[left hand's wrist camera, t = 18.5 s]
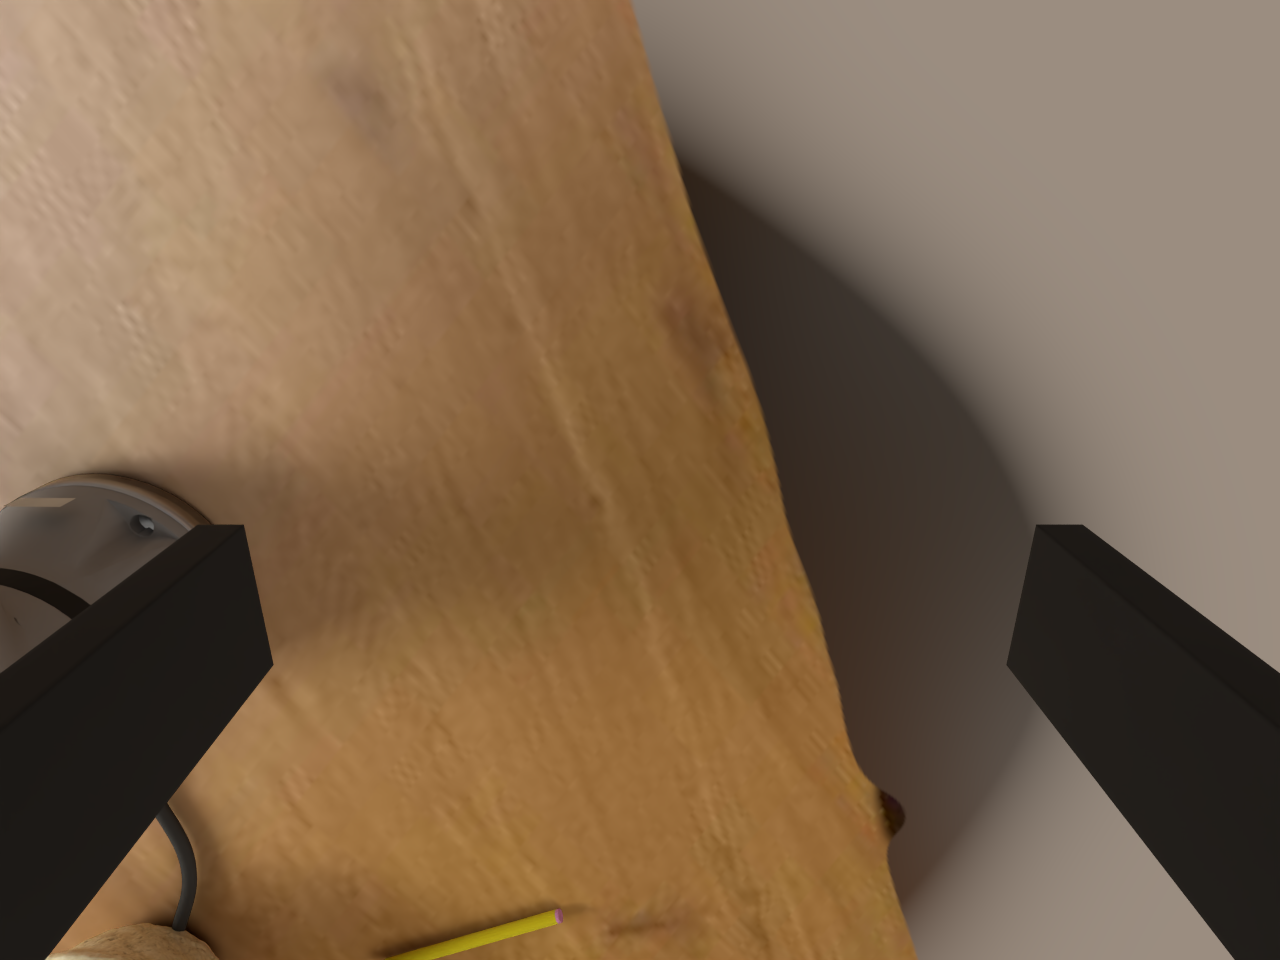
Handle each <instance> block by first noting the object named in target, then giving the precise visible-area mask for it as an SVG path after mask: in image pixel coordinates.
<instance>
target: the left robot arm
mask: <svg viewBox="0 0 1280 960" xmlns="http://www.w3.org/2000/svg"><path fill="white" fill-rule="evenodd" d="M5 506H6V507H5V508H3V509H2V510H1V511H0V960H45V959H46V958H47V957H48V956H49V954H50V953H51V952H52V950H53V949H54V948H55V946H56V945H57V944H58V943H59V941H60V940H61V939H62V937H63V936H64V935H65V934H66V932H67V931H68V930H69V928H70V927H71V926H72V925H73V923H74V922H75V921H76V919H77V918H78V917H79V915H80V914H81V913H82V912H83V910H84V909H85V908H86V906H87V905H88V904H89V903H90V901H91V900H92V899H93V897H94V896H95V895H96V894H97V892H98V891H99V890H100V888H101V887H102V886H103V884H104V883H105V882H106V881H107V879H108V878H109V877H110V875H111V874H112V873H113V872H114V870H115V869H116V868H117V866H118V865H119V864H120V863H121V861H122V860H123V859H124V857H125V856H126V855H127V853H128V852H129V851H130V850H131V848H132V847H133V846H134V844H135V843H136V842H137V841H138V839H139V838H140V837H141V835H142V834H143V833H144V831H145V830H146V829H147V828H148V826H149V825H150V824H151V822H152V821H153V820H154V819H155V817H156V819H157V820H158V822H159V823H160V825H161V826H162V828H163V830H164V831H165V833H166V834H167V836H168V838H169V839H170V841H171V843H172V845H173V847H174V849H175V851H176V854H177V856H178V859H179V863H180V867H181V873H182V891H181V896H180V901H179V904H178V908H177V911H176V914H175V917H174V921H173V924H172V929H173V930H175V931H179V932H180V931H185V930H186V926H187V922H188V919H189V916H190V913H191V909H192V906H193V903H194V899H195V894H196V887H197V870H196V861H195V857H194V853H193V850H192V847H191V844H190V842H189V839H188V837H187V835H186V833H185V831H184V829H183V828H182V826H181V824H180V823H179V821H178V819H177V818H176V816H175V815H174V813H173V812H172V810H171V808H170V807H169V805H168V804H167V802H168V800H169V799H170V798H171V797H172V795H173V794H174V793H175V791H176V790H177V789H178V788H179V786H180V785H181V784H182V782H183V781H184V780H185V779H186V777H187V776H188V775H189V773H190V772H191V771H192V769H193V768H194V767H195V766H196V764H197V763H198V762H199V760H200V759H201V758H202V757H203V755H204V754H205V753H206V751H207V750H208V749H209V748H210V746H211V745H212V744H213V742H214V741H215V740H216V738H217V737H218V736H219V735H220V733H221V732H222V731H223V729H224V728H225V727H226V726H227V724H228V723H229V722H230V720H231V719H232V718H233V716H234V715H235V714H236V713H237V711H238V710H239V709H240V707H241V706H242V705H243V704H244V702H245V701H246V700H247V698H248V697H249V696H250V695H251V693H252V692H253V691H254V689H255V688H256V687H257V685H258V684H259V683H260V682H261V680H262V679H263V678H264V676H265V675H266V674H267V673H268V671H269V670H270V669H271V667H272V666H273V660H272V656H271V651H270V646H269V642H268V637H267V632H266V627H265V623H264V618H263V613H262V609H261V604H260V599H259V594H258V590H257V585H256V580H255V576H254V571H253V566H252V561H251V557H250V552H249V547H248V543H247V538H246V533H245V528H244V525H211V524H210V523H209V522H208V521H207V520H206V519H205V518H204V517H203V516H202V515H201V514H199V513H198V512H197V511H196V510H194V509H193V508H192V507H190V506H189V505H188V504H186V503H185V502H183V501H182V500H180V499H178V498H177V497H175V496H173V495H172V494H170V493H168V492H166V491H164V490H162V489H160V488H157V487H155V486H152V485H150V484H147V483H144V482H141V481H138V480H135V479H131V478H127V477H122V476H116V475H108V474H82V475H73V476H69V477H64V478H61V479H58V480H55V481H52V482H49V483H47V484H45V485H43V486H41V487H39V488H37V489H35V490H33V491H31V492H29V493H27V494H25V495H23V496H21V497H19V498H17V499H16V500H14V501H12V502H11V503H9V504H7V505H5ZM1007 666H1008V667H1009V669H1010V670H1011V671H1012V673H1013V674H1014V675H1015V676H1016V678H1017V679H1018V680H1019V682H1020V683H1021V684H1022V685H1023V687H1024V688H1025V689H1026V691H1027V692H1028V693H1029V695H1030V696H1031V697H1032V698H1033V700H1034V701H1035V702H1036V704H1037V705H1038V706H1039V707H1040V709H1041V710H1042V711H1043V713H1044V714H1045V715H1046V716H1047V718H1048V719H1049V720H1050V722H1051V723H1052V724H1053V726H1054V727H1055V728H1056V729H1057V731H1058V732H1059V733H1060V734H1061V736H1062V737H1063V738H1064V740H1065V741H1066V742H1067V744H1068V745H1069V746H1070V748H1071V749H1072V750H1073V751H1074V753H1075V754H1076V755H1077V757H1078V758H1079V759H1080V760H1081V762H1082V763H1083V764H1084V765H1085V767H1086V768H1087V769H1088V771H1089V772H1090V773H1091V775H1092V776H1093V777H1094V778H1095V780H1096V781H1097V782H1098V784H1099V785H1100V786H1101V787H1102V789H1103V790H1104V791H1105V793H1106V794H1107V795H1108V797H1109V798H1110V799H1111V800H1112V802H1113V803H1114V804H1115V806H1116V807H1117V808H1118V809H1119V811H1120V812H1121V813H1122V815H1123V816H1124V817H1125V819H1126V820H1127V821H1128V822H1129V824H1130V825H1131V826H1132V828H1133V829H1134V830H1135V831H1136V833H1137V834H1138V835H1139V837H1140V838H1141V839H1142V840H1143V842H1144V843H1145V844H1146V846H1147V847H1148V848H1149V850H1150V851H1151V852H1152V853H1153V855H1154V856H1155V857H1156V859H1157V860H1158V861H1159V863H1160V864H1161V865H1162V866H1163V868H1164V869H1165V870H1166V871H1167V873H1168V874H1169V875H1170V877H1171V878H1172V879H1173V881H1174V882H1175V883H1176V884H1177V886H1178V887H1179V888H1180V890H1181V891H1182V892H1183V894H1184V895H1185V896H1186V897H1187V899H1188V900H1189V901H1190V903H1191V904H1192V905H1193V906H1194V908H1195V909H1196V910H1197V912H1198V913H1199V914H1200V915H1201V917H1202V918H1203V919H1204V921H1205V922H1206V923H1207V925H1208V926H1209V927H1210V928H1211V930H1212V931H1213V932H1214V934H1215V935H1216V936H1217V937H1218V939H1219V940H1220V941H1221V943H1222V944H1223V945H1224V946H1225V948H1226V949H1227V950H1228V952H1229V953H1230V954H1231V955H1232V957H1233V958H1234V959H1235V960H1280V673H1279V672H1277V671H1276V670H1275V669H1273V668H1272V667H1271V666H1269V665H1268V664H1267V663H1265V662H1264V661H1263V660H1261V659H1260V658H1259V657H1257V656H1256V655H1255V654H1253V653H1252V652H1251V651H1249V650H1248V649H1247V648H1246V647H1244V646H1243V645H1241V644H1240V643H1239V642H1238V641H1236V640H1235V639H1234V638H1232V637H1231V636H1230V635H1228V634H1227V633H1226V632H1224V631H1223V630H1222V629H1220V628H1219V627H1218V626H1216V625H1215V624H1214V623H1212V622H1211V621H1210V620H1208V619H1207V618H1206V617H1204V616H1203V615H1202V614H1200V613H1199V612H1198V611H1196V610H1195V609H1194V608H1192V607H1191V606H1190V605H1188V604H1187V603H1186V602H1184V601H1183V600H1182V599H1180V598H1179V597H1178V596H1177V595H1175V594H1174V593H1173V592H1171V591H1170V590H1169V589H1167V588H1166V587H1165V586H1163V585H1162V584H1161V583H1159V582H1158V581H1157V580H1155V579H1154V578H1153V577H1151V576H1150V575H1148V574H1147V573H1146V572H1145V571H1143V570H1142V569H1141V568H1139V567H1138V566H1137V565H1135V564H1134V563H1133V562H1131V561H1130V560H1129V559H1127V558H1126V557H1125V556H1123V555H1122V554H1121V553H1119V552H1118V551H1117V550H1115V549H1114V548H1113V547H1111V546H1110V545H1109V544H1108V543H1106V542H1105V541H1103V540H1102V539H1101V538H1100V537H1098V536H1097V535H1096V534H1094V533H1093V532H1092V531H1090V530H1089V529H1088V528H1086V527H1085V526H1084V525H1036V528H1035V533H1034V538H1033V543H1032V547H1031V552H1030V557H1029V562H1028V566H1027V571H1026V576H1025V580H1024V585H1023V590H1022V594H1021V599H1020V604H1019V609H1018V613H1017V618H1016V623H1015V627H1014V632H1013V637H1012V642H1011V646H1010V651H1009V656H1008V660H1007Z"/></svg>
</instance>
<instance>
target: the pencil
mask: <svg viewBox="0 0 1280 960" xmlns="http://www.w3.org/2000/svg"><path fill="white" fill-rule="evenodd" d="M562 922H563V914H562V911H561V909H560V908H559V909H555V910H551V911H548V912H545V913H541V914H538V915H534V916H531V917H527V918H524V919H520V920H517V921H513V922H510V923H506V924H503V925H499V926H496V927H493V928H489V929H486V930H482V931H479V932H475V933H472V934H468V935H465V936H461V937H458V938H454V939H451V940H447V941H444V942H441V943H437V944H434V945H430V946H427V947H423V948H420V949H416V950H413V951H409V952H406V953H402V954H399V955H396V956H392V957H389V958H386V959H385V960H433V959H436V958H440V957H443V956H447V955H450V954H454V953H457V952H461V951H464V950H468V949H471V948H475V947H478V946H482V945H485V944H489V943H492V942H496V941H499V940H503V939H506V938H510V937H513V936H517V935H520V934H524V933H527V932H531V931H534V930H538V929H541V928H545V927H548V926H552V925H555V924H559V923H562Z"/></svg>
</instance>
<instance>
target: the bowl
mask: <svg viewBox="0 0 1280 960" xmlns="http://www.w3.org/2000/svg"><path fill="white" fill-rule="evenodd" d="M45 960H219V958H218V957H216V956H215V954H214V953H213V952H212V950H211V949H210V947H209V946H208V945H207V944H206V943H205V942H204V941H202V940H199V939H198V938H196V937H195V936H194V935H192V934H190V933H189V932H187V931H180V932H179V931H175V930H173V929H172V927H167V926H159V925H153V924H151V923H140V924H136V925H128V926H124V927H120V928H116V929H112V930H109V931H106V932H104V933H102V934H100V935H98V936H95V937H93V938H91V939H88V940H86V941H84V942H82V943H80V944H79V945H77V946H75V947H73V948H71V949H69V950H67V951H63V952H58V953H54V954H50V955H49V956H48V957H47V958H46V959H45Z"/></svg>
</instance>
